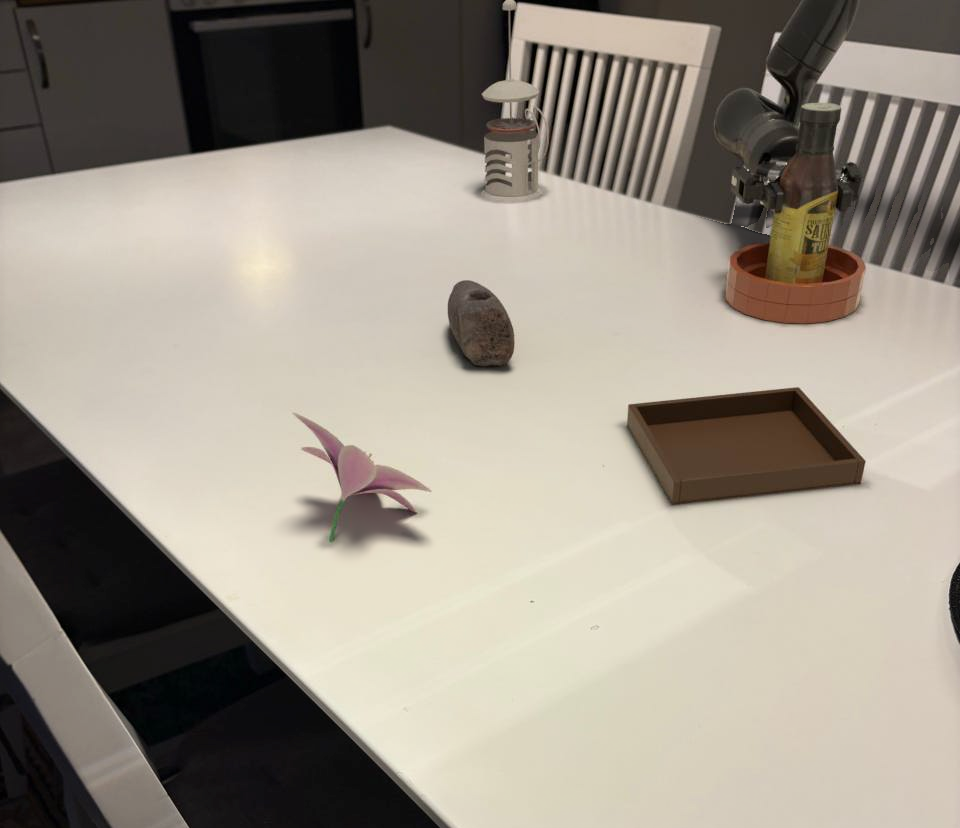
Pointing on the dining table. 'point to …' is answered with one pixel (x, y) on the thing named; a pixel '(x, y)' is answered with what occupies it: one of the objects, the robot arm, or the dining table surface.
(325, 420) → the dining table surface
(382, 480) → the lily
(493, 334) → the perforated stone tool
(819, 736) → the dining table surface
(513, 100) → the french press
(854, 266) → the bowl
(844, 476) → the tray
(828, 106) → the sauce bottle
